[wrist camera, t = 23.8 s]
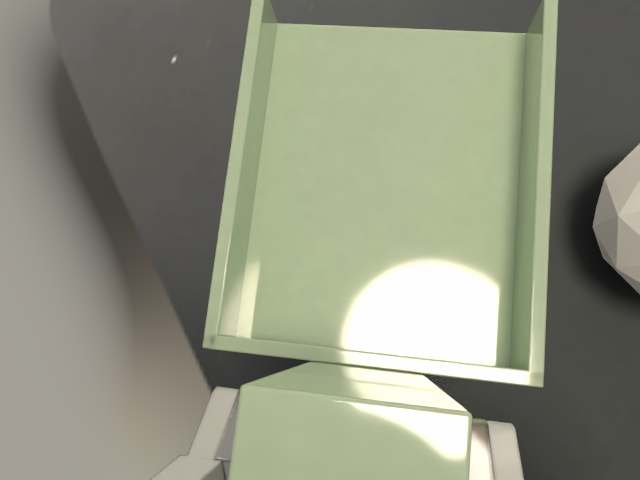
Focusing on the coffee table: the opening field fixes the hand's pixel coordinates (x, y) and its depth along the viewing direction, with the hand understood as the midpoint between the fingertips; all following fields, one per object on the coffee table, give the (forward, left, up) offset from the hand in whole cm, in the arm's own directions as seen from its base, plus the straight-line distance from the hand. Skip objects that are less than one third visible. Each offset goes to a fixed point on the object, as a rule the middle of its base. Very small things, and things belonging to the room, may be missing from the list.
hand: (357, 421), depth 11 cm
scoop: (+1, +5, -6) cm, 7 cm away
